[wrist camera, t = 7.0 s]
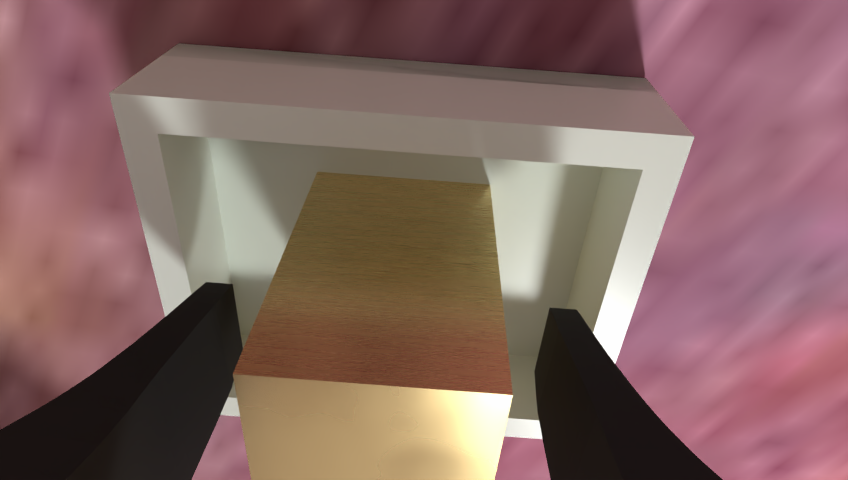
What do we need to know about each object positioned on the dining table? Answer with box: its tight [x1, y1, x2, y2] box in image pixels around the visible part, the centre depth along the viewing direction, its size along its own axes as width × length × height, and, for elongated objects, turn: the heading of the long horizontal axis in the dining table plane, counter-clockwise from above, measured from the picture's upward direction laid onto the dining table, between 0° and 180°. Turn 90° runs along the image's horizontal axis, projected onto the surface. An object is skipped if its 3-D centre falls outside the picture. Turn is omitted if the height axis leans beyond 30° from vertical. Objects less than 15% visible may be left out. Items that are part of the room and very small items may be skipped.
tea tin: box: [233, 172, 513, 480], centre depth 13 cm, size 4×4×7 cm
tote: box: [109, 43, 694, 439], centre depth 16 cm, size 10×12×4 cm
